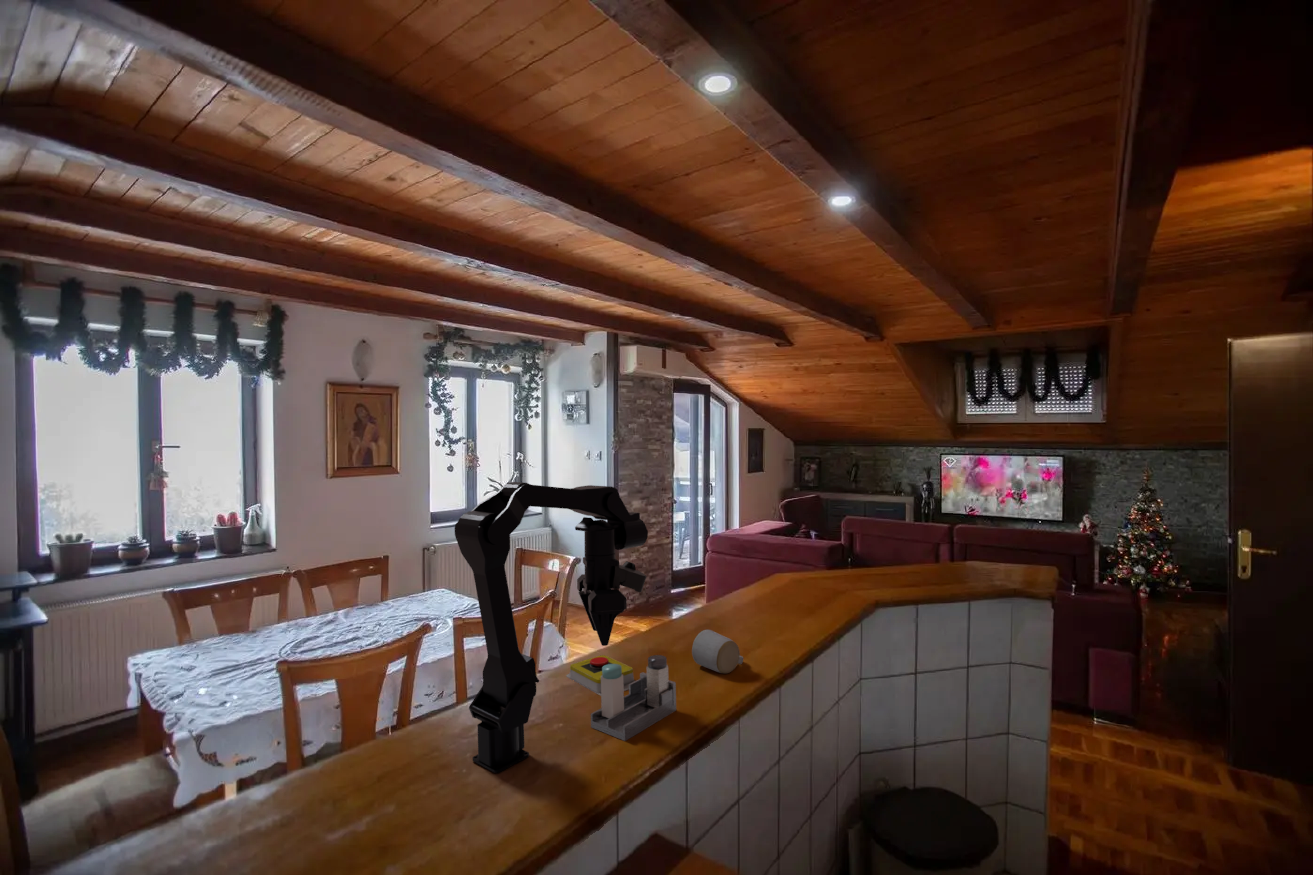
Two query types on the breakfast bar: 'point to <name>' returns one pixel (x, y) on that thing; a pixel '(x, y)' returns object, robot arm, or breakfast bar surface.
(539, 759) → the breakfast bar surface
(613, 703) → the plunger
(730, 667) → the ceramic mug
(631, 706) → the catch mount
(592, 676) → the emergency button
